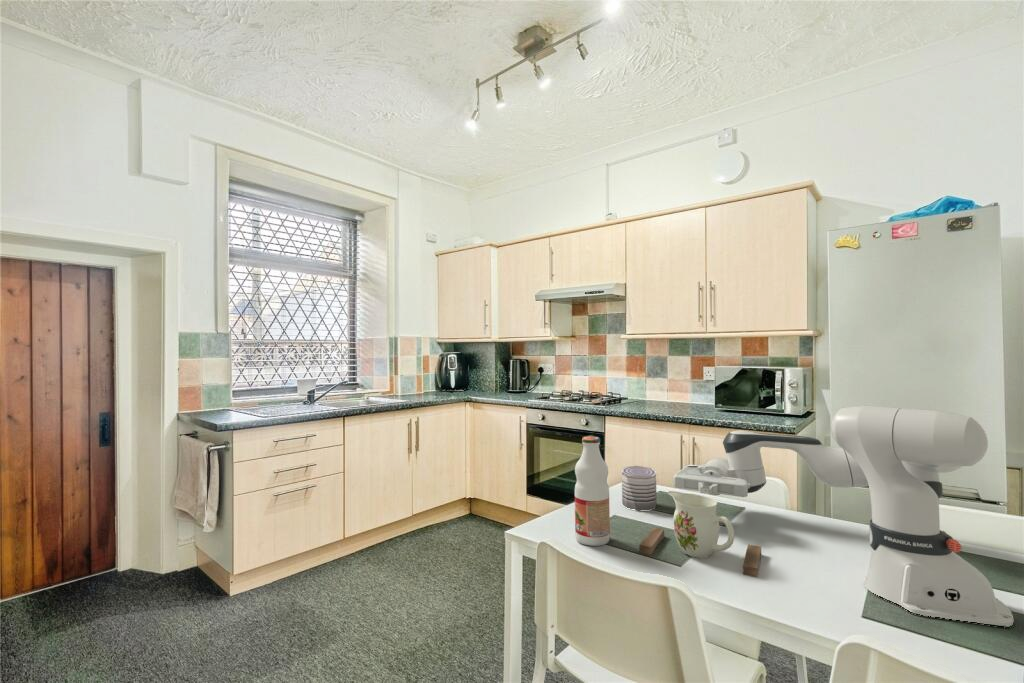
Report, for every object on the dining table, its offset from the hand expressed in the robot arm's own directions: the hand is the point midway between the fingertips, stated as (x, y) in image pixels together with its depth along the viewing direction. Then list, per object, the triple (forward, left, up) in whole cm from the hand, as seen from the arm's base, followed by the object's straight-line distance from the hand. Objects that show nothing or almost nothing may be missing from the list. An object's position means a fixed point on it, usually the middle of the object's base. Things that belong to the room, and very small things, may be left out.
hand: (705, 490), depth 133 cm
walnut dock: (-1, +14, -12) cm, 18 cm away
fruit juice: (+27, +19, -13) cm, 35 cm away
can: (+24, -16, -13) cm, 31 cm away
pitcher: (0, +14, -13) cm, 19 cm away
